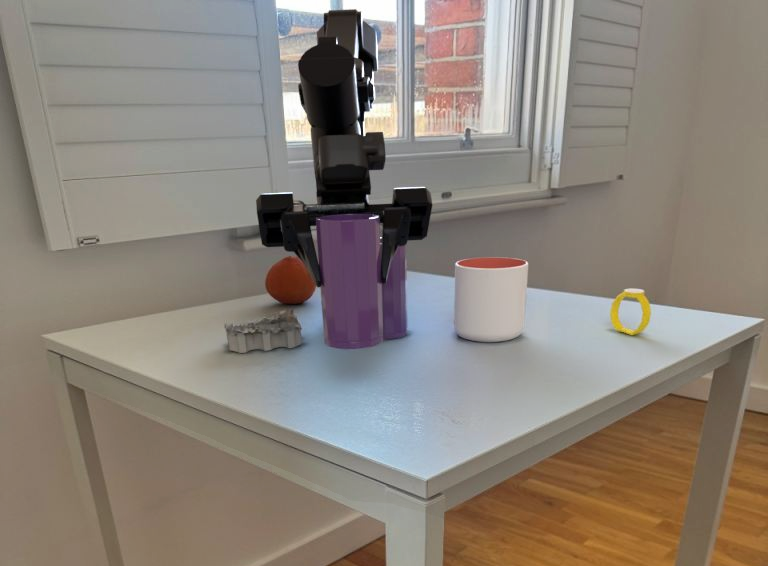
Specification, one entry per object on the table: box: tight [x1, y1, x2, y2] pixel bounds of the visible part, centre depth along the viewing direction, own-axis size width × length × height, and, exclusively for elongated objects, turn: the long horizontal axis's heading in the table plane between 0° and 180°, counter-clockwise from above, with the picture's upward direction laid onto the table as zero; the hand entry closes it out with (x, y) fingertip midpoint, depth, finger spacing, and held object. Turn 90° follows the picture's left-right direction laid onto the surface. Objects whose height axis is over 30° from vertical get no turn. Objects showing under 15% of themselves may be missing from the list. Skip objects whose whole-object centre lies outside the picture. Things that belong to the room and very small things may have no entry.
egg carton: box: [224, 308, 303, 354], centre depth 99 cm, size 11×8×4 cm
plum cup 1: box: [315, 214, 384, 350], centre depth 76 cm, size 7×7×13 cm
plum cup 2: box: [380, 237, 408, 341], centre depth 100 cm, size 7×7×13 cm
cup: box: [453, 256, 529, 343], centre depth 99 cm, size 10×10×10 cm
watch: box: [609, 287, 652, 336], centre depth 98 cm, size 6×3×6 cm, turn 32°
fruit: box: [264, 255, 317, 305], centre depth 123 cm, size 9×9×8 cm
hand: (351, 283), depth 74 cm, fingers closed on plum cup 1, 7 cm apart
